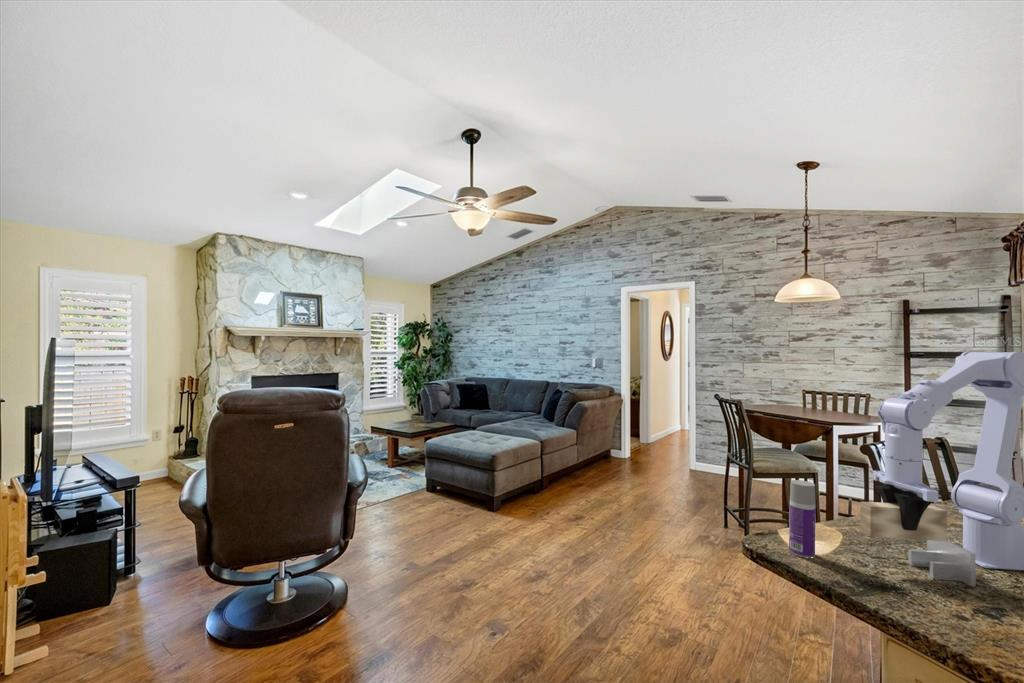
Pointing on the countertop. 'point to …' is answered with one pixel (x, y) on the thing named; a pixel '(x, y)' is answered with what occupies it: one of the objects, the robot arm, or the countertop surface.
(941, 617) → the countertop surface
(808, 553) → the container
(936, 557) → the bracket
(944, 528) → the rail
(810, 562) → the countertop surface
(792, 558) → the countertop surface
